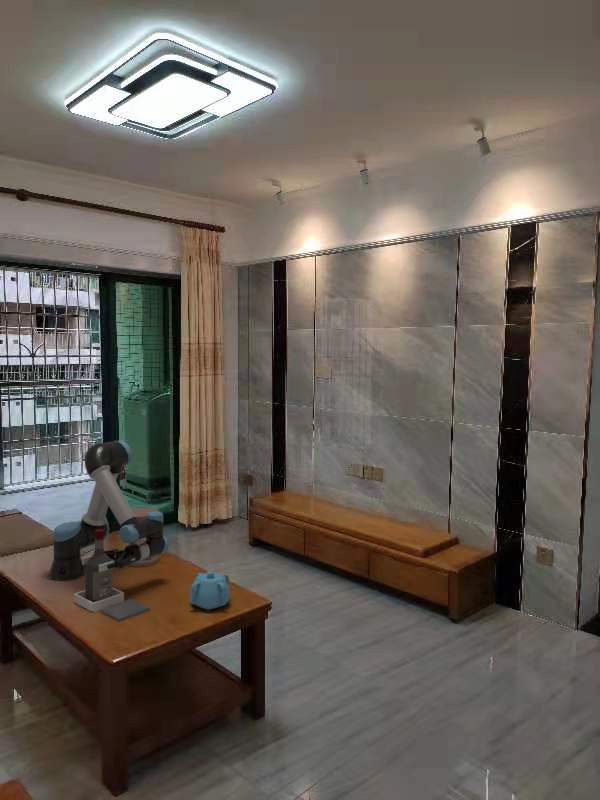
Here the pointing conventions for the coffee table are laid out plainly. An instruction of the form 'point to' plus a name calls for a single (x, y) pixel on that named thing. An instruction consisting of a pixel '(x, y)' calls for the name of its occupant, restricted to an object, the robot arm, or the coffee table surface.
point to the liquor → (98, 581)
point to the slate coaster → (125, 610)
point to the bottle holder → (80, 600)
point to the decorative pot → (210, 590)
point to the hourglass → (140, 515)
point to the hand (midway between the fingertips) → (90, 564)
